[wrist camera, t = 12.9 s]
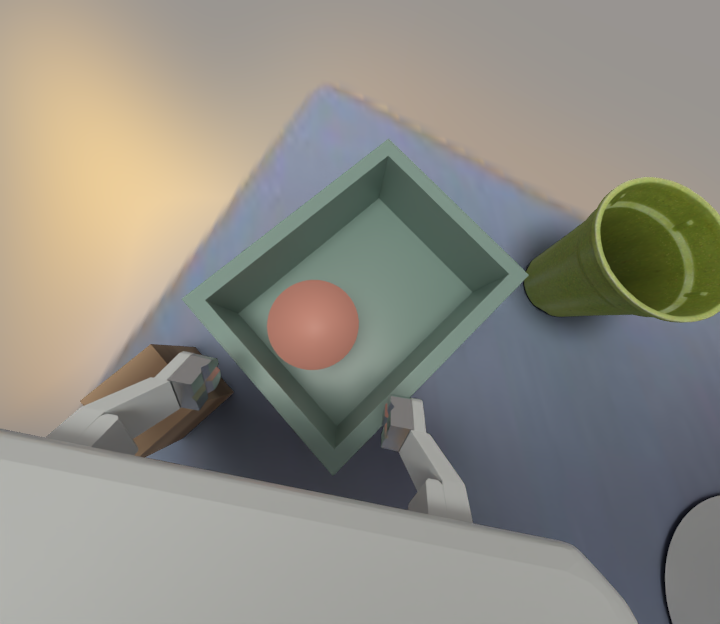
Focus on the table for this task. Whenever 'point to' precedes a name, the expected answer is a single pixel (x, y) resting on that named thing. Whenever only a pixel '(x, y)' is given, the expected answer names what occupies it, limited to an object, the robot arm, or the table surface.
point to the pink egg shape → (312, 324)
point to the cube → (178, 421)
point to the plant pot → (635, 257)
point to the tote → (361, 297)
